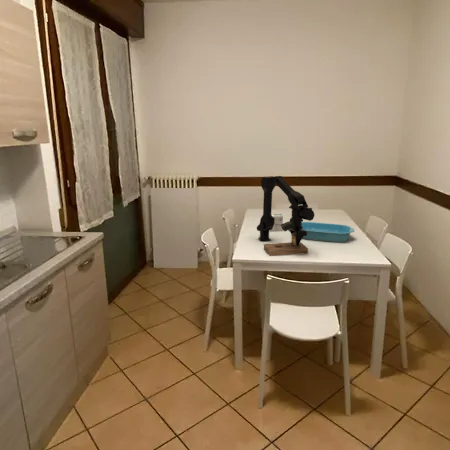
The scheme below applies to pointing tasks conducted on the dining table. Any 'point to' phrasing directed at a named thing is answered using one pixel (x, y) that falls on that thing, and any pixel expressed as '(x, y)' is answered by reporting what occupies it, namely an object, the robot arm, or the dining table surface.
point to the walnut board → (284, 249)
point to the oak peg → (294, 241)
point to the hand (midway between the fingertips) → (295, 243)
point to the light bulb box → (277, 222)
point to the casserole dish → (326, 231)
